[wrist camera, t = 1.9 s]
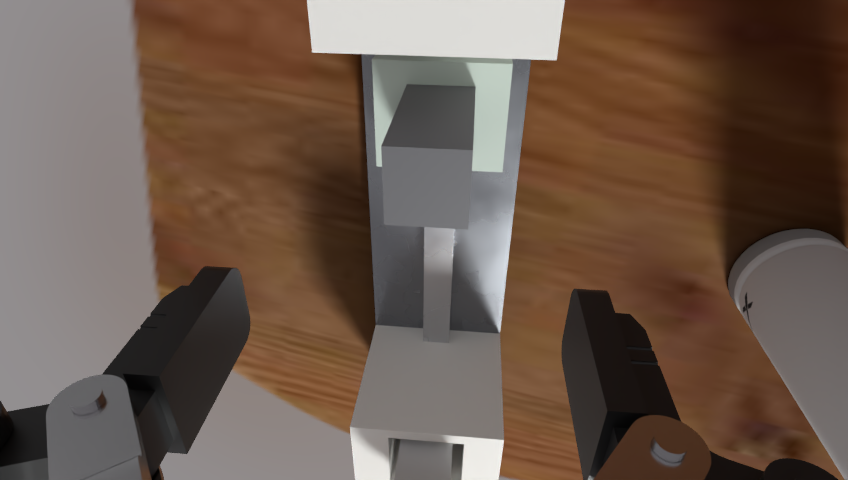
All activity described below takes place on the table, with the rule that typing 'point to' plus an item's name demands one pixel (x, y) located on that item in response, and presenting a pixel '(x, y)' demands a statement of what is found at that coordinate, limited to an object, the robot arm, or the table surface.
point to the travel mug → (802, 323)
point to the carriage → (437, 133)
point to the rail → (447, 240)
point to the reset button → (423, 460)
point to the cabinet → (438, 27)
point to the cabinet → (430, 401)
